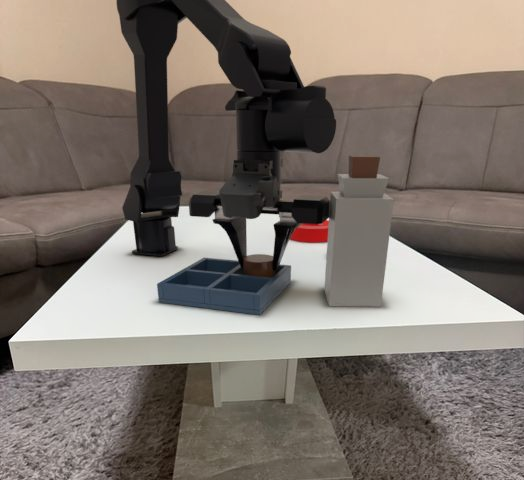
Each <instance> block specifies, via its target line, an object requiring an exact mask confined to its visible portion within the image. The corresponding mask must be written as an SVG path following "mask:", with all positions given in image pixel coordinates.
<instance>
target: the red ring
mask: <svg viewBox="0 0 524 480" xmlns="http://www.w3.org/2000/svg"><path fill="white" fill-rule="evenodd" d="M328 226H329V219H327V220H326V221H324V222H323V223H322V224H307V223H303V224H302V225H300V226H299V227H298V228H296V229H295V230H294V232H293V234H292V235H291V237H290V239H289V240H292V241H295V242H302V243H327V242H328Z"/></svg>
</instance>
